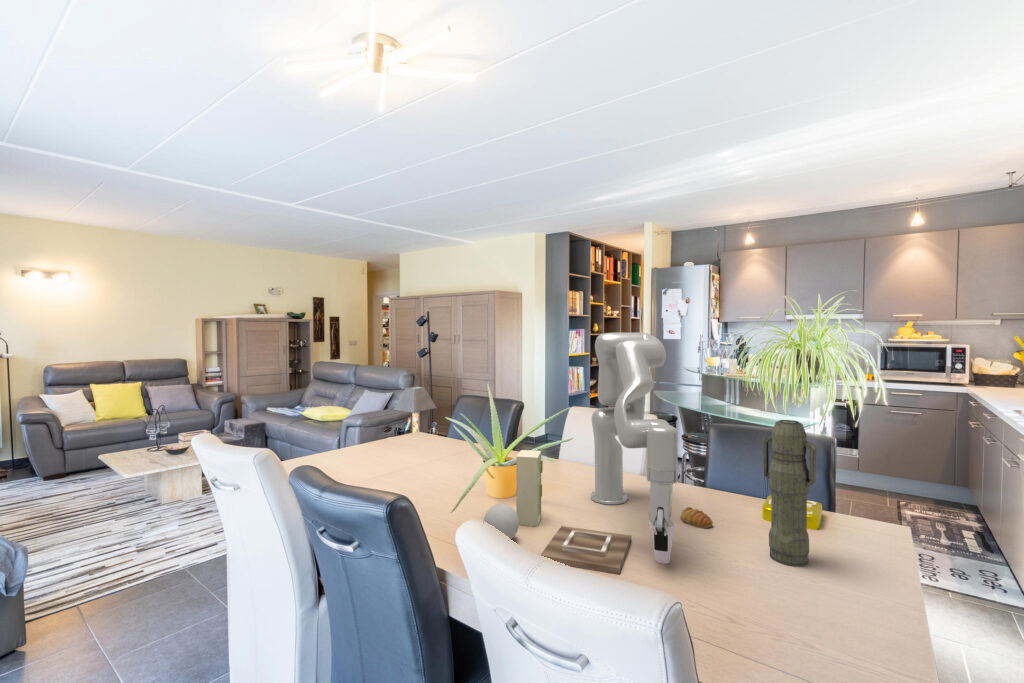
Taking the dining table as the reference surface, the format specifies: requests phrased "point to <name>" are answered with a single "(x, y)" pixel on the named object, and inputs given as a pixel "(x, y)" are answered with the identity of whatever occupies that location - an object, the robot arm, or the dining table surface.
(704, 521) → the pastry
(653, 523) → the smoothie
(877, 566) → the dining table surface
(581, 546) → the walnut board
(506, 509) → the ball
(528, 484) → the toy refrigerator
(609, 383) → the robot arm
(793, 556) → the thermos
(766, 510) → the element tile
